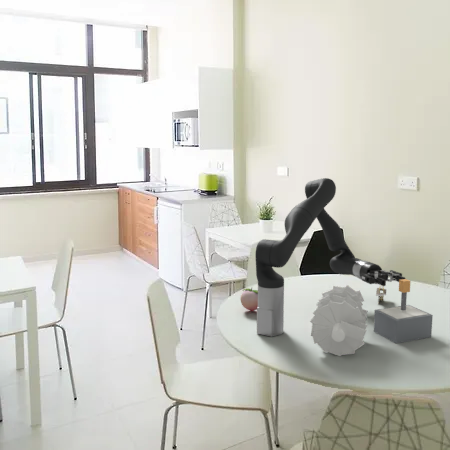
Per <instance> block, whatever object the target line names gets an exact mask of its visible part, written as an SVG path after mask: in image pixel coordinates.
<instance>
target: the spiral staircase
mask: <svg viewBox="0 0 450 450" xmlns="http://www.w3.org/2000/svg"><path fill="white" fill-rule="evenodd" d="M321 295H322V297H321V298H320V299H318V302H317V303H316V306H317V307H316V308H315V310H314V311H313V312H312V314H313V317H312V318H311V319H310V321H309V323H311V332H310V336H311V337H312V339H313V344H317V345H318V347H319V348H321V350H322V351H323V352H324V353H325V354H327V353H329V354H330V353H331V354H332V355H335V356H337V357H342V355H343V356H344V355H352V354H356V351H357V350H358V349H359V348H361V347H362V346H363V345H364V344H365V342H364V339H365V336H366V333H367V328H368V324H367V322H366V319H367V316H368V310H367V309H364V308H363V302H365V298H364V297H363V295H362V293H361V290H357V291H356V290H355V289H354V288H352V287H350V286H349V285H347V284H346V286H344V287H343V286H338V285H337V286H336V285H333V287H332V289H329V290H326V291H324V292H321Z"/></svg>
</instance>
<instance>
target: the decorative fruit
mask: <svg viewBox="0 0 450 450" xmlns="http://www.w3.org/2000/svg"><path fill="white" fill-rule="evenodd" d="M239 299H240V303H241V306H242V307H243V308H244V309H246V310H249V311H250V312H254V311H257V308H258V289H253V287H250V288H248V287H247V288H244V289H242V292H241V295H240V298H239Z"/></svg>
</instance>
